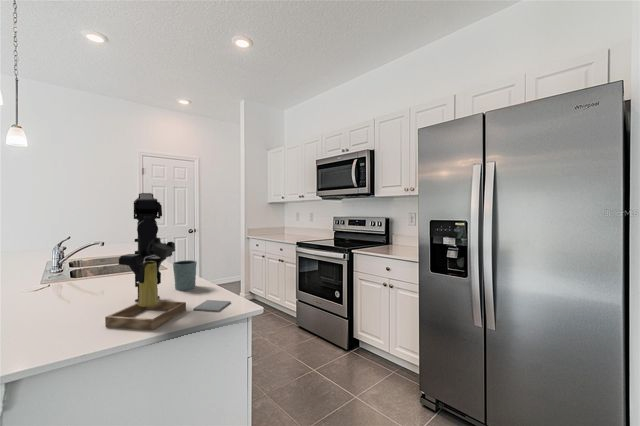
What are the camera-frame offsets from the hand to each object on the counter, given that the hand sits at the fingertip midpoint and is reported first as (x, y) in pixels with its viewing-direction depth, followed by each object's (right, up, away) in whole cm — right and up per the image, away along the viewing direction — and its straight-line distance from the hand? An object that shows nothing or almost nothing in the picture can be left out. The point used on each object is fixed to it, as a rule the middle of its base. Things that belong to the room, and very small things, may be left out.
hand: (148, 280), depth 102 cm
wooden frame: (0, -13, 0) cm, 13 cm away
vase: (0, -8, 0) cm, 8 cm away
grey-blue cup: (-4, -12, +36) cm, 38 cm away
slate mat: (+18, -13, +12) cm, 25 cm away
